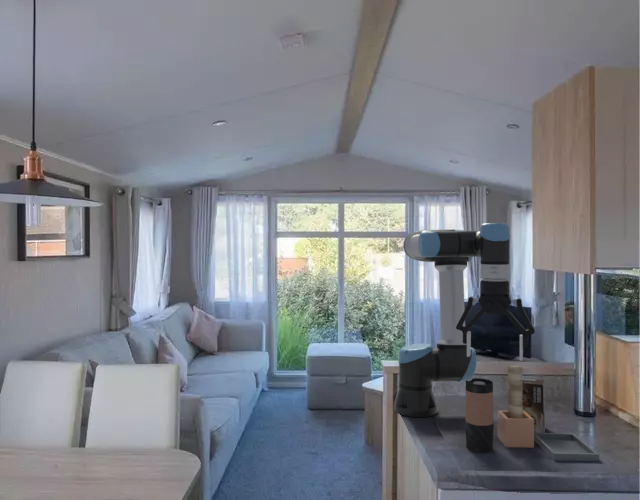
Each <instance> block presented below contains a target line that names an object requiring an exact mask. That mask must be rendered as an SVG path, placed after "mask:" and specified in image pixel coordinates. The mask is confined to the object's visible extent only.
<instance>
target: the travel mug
mask: <svg viewBox="0 0 640 500" xmlns="http://www.w3.org/2000/svg"><path fill="white" fill-rule="evenodd" d="M464 418H465V441H466V442H465V445H466V446H465V447H466V449H467V450H468V451H471V452H474V453H479V454H487V453H488V454H489V453H491V452H493V450H494V449H493V447H494V382H493V381H492V380H491V379H486V378H480V377H479V378H477V377H475V378H473V377H472V379H471V380H469V381H467V380H466V381H465V417H464Z"/></svg>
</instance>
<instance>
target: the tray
mask: <svg viewBox="0 0 640 500" xmlns="http://www.w3.org/2000/svg"><path fill="white" fill-rule="evenodd" d="M534 443H536V444H537V445H538V446H539V447H540V448H541V449H542V450H543V451H544V452H545V453H546V454H547V455H548V456H549V457H550V459H552V460H553V461H574V462H575V461H578V462H579V461H583V462H599V461H600V453H598V452H597V451H596V450H595V449H593V448H592V447H591V446H590V445H588V443H586V442H585V441H584V440H582V439H581V438H580V437H579V436H578V435H576V434H575V433H573V432H568V433H567V432H565V433H564V432H562V433H561V432H545V433H535V432H534Z"/></svg>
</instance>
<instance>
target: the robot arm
mask: <svg viewBox="0 0 640 500" xmlns="http://www.w3.org/2000/svg"><path fill="white" fill-rule="evenodd" d="M510 241H511V234H510V226H509V224H508V223H506V222H490V223H489V222H485V223H484V222H483V223H482V224H481V225H480V230H463V229H454V228H453V229H423V230H421V229H420V230H417V231H414V232H411V233H409V234H408V235H407V236H406V237H405V239H404V241H403V250H404V253H405V254H406V255H407V256H408V257H409V258H410V259H412V260H414V261H419V262H424V263H425V262H426V263H427V262H428V263H434V268H435V269H436V270H437V271H438V278H439V283H438V285H439V314H440V315H439V317H440V321H439V323H440V339H438V341H437V342H436V347H434V348H433V346H432V344H430V343H421V342H420V343H412V344H408V345H405V346H402V347H401V348H400V349H399V351H398V361H397V363H398V390H397V392H396V397H395V399H394V402H393V403H394V404H393V411H394V412H395V413H396V414H398V415H401V416H404V417H410V418H411V417H412V418H427V417H432V416H435V415H436V414H437V413H438V404H437V402H436V398H435V394H434V392H433V382H457V383H460V382H466V380H467V381H470V380H472V379H473V377H474V376H475V373H476V370H477V360H478V359H477V353H476V350H475V348H474V347H471V346H472V341H471V339H472V334H471V333H472V332H471V331H470V329H471V328H472V326H473V325H474V324H475V323H476V322H477V321H479V319H480V318H481V317H482V316H483V315H484V314H488V315H498V316H499V315H502V314H504V315H505V316H506V317H507V318H508V320H509V321H510V322H511V323H512V324H513V326H514V327H515V328H516V329H517V330H518V331H519V332H520V333H521V334H519V361H521V362H523V360H524V359H523V358H524V349H527V348H528V336H531V335H534V334H535V332H536V331H535V328H534V326H533V324H532V321H531V320H530V318H529V317H528V315H527V312H526V310H525V309H524V307H523V301H522V298H521V297H518V298H511V297H510V282H509V279H510ZM474 257H475V258H479V257H480V258H479V259H480V261H479V262H480V264H479V265H480V268H479V269H480V270H479V271H480V273H479V274H480V275H479V277H480V279H481V280H480V286H479V287H480V288H479V291H480V292H479V293H480V294H479V297H474V296H472V295H471V296H469V297H468V299H467V305H466V307H465V287H464V286H465V285H464V271H465V270H466V268H467V267H468V263H470V262H471V261H472V260H473V258H474ZM477 303H478V304H479V305H480V306H481V309H480V310H479V311H478V312H477V313H476V314H475V315H474V316H473V317H472V318H471V319H470V321H469V322H468V323H467V324H466V320H467V317H468V315H469V314H470V312H471V310H472V308H473V306H475V305H476V304H477ZM511 304H512V305H513V306H514V307H515V308H517V310H518V312H519V314H520V316H521V318H522V321H523V322H524V324H525V326H526V327H527V329H526V328H525V327H524V325H522V323H521V322H520V321H519V320H518V319H517V317H515V315H513V313H512V311H510V309H509V307H510V305H511Z"/></svg>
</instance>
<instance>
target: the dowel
mask: <svg viewBox="0 0 640 500" xmlns="http://www.w3.org/2000/svg"><path fill="white" fill-rule="evenodd" d="M522 378H523V366H520V365H508V366H507V411H508V418H523V405H522Z"/></svg>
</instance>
